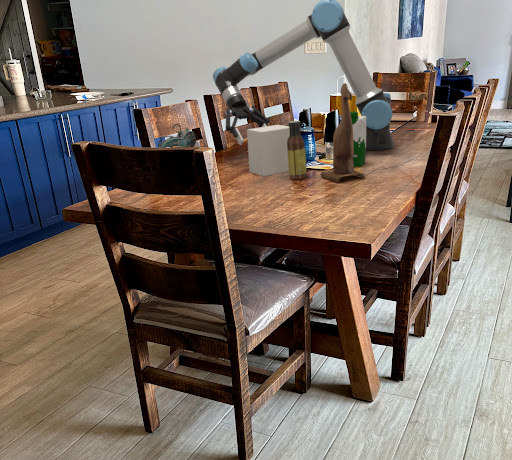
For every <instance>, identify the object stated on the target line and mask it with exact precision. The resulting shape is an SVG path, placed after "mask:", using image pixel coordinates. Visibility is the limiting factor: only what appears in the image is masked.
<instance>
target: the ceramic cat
mask: <svg viewBox="0 0 512 460" xmlns="http://www.w3.org/2000/svg"><path fill="white" fill-rule="evenodd" d="M176 126H178V127H179V129H180V130H175V132H176V133H177V134H176V136H173V135H165V136H163V137H161V138H160V139H159V140H158V143H157V147H162V148H164V147H173V146H182V147H194V148H195V145H196V144H197V143H196V142H197V136H196V133H195V132H194V131H192V130H190V129H189V128H188V127H187V126H185V129H184V130H182V127H181V125H180V124H178V123H176V124H173V126H172V130H174V129H175V127H176ZM165 138H166V139H165ZM162 140H163V141H162Z"/></svg>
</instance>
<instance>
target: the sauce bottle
mask: <svg viewBox="0 0 512 460" xmlns="http://www.w3.org/2000/svg"><path fill="white" fill-rule="evenodd" d="M287 125H288V126H289V131H290V133H289V134H290V136H289V138H288V140H287V153H288V167H289V171H288V175H289V178H290V179H291V180H303V179H306V178H307V172H308V170H307V158H306V157H307V155H306V146H305V140H304V138H303V136H302V134H301V121H300V120H290V121H288V124H287Z"/></svg>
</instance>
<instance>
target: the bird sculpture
mask: <svg viewBox="0 0 512 460" xmlns="http://www.w3.org/2000/svg"><path fill="white" fill-rule="evenodd" d="M340 100H341V118H340V119H341V120H340V122H339V124H338V125H337V126H336V128H335V129H334V132H333V136H332V137H333V139H332V165H333V166H332V167H333V168H332V169H327V170H322V171H321V172H320V177H321V178H323V179H324V180H325V179H326V180H328V181H330V182H334V183H336V184H338V183H339V182H340V180H341V179H342V178H344V177H347V176H348V177H349V176H356V177H360V178H362V179H366V175H365V173H364V172H360V171H357V170H355V167H354V164H353V154H354V152H353V146H354V145H353V126H352V120H351V113H350V112H351V108H350V104H349V101H350V102H351V101H352V100H353V94H352V92H351V91H350V89H349V87H348V84H347V83H346V82H344V83H343V84H342V85H341V87H340ZM348 100H349V101H348Z"/></svg>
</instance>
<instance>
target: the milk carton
mask: <svg viewBox="0 0 512 460" xmlns="http://www.w3.org/2000/svg"><path fill="white" fill-rule="evenodd" d="M350 113H351V120H352V126H353V145H354V146H353V152H354V154H353V164H354V168H361V167H362V166H363V165H365V164H366V163H365V162H366V152H367V150H366V116H361V115H359V111H350Z"/></svg>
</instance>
